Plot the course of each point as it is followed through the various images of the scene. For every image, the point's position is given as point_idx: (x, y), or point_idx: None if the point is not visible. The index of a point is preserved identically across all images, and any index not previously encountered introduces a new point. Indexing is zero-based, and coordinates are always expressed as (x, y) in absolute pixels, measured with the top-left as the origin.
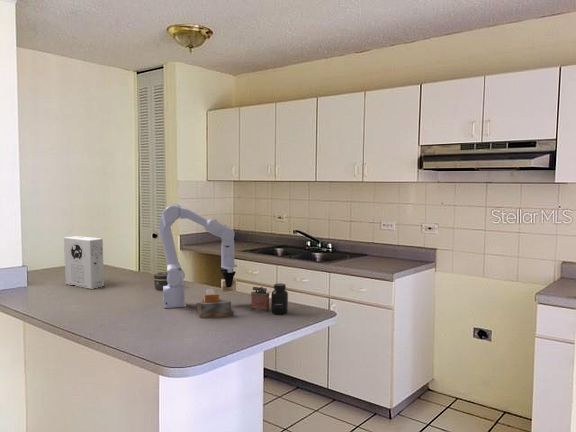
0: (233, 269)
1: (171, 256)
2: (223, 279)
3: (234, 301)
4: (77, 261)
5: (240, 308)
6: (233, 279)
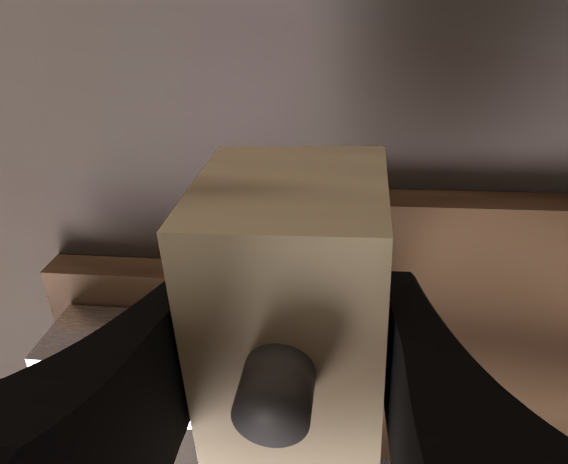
0: (13, 454)
1: None
2: (209, 439)
3: (187, 78)
4: None
5: (562, 50)
6: (239, 273)
